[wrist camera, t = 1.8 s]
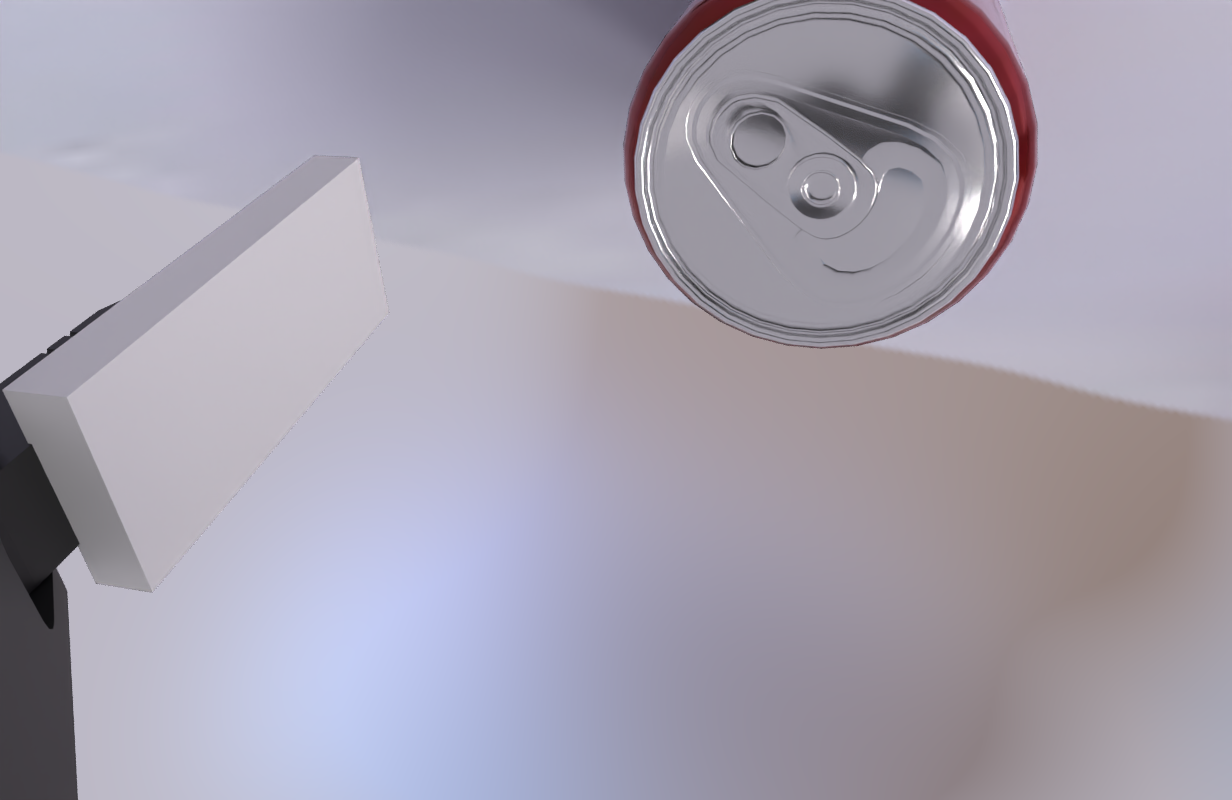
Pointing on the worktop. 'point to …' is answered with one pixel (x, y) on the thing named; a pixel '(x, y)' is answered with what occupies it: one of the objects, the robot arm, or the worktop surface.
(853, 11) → the soda can
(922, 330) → the worktop surface
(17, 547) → the robot arm
